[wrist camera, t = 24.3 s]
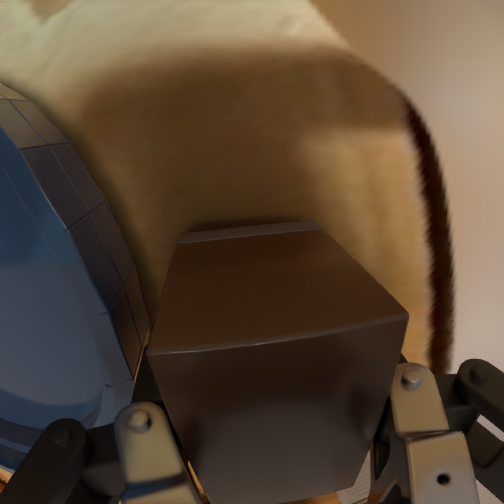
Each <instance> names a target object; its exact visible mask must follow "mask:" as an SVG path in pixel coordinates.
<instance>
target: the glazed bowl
mask: <svg viewBox="0 0 504 504" xmlns="http://www.w3.org/2000/svg"><path fill="white" fill-rule="evenodd" d="M149 337H150V336H149V319H148V316H147V312H146V308H145V304H144V300H143V296H142V292H141V288H140V284H139V280H138V276H137V271H136V267H135V265H134V262H133V259H132V257H131V255H130V253H129V251H128V248H127V246H126V244H125V242H124V239H123V237H122V235H121V232H120V230H119V228H118V225H117V223H116V220H115V218H114V216H113V213H112V211H111V208H110V206H109V203H108V201H106V198H105V196H104V195H103V193H102V192H101V190H100V189H99V187H98V186H97V184H96V182H95V181H94V179H93V178H92V176H91V175H90V173H89V171H88V170H87V168H86V167H85V165H84V163H83V162H82V160H81V158H80V157H79V155H78V153H77V152H76V150H75V148H74V147H73V145H72V144H71V142H70V141H69V140H68V139H67V138H66V136H65V135H64V134H63V133H62V132H61V131H60V130H59V129H58V128H57V127H56V126H55V125H54V124H53V123H52V122H51V121H50V120H49V119H48V118H47V117H46V115H45V114H44V113H43V112H42V111H41V110H40V109H39V108H38V107H37V106H36V105H35V104H34V103H33V102H32V101H31V100H29V99H28V98H26V97H24V96H22V95H21V94H19V93H17V92H15V91H14V90H12V89H10V88H8V87H7V86H5V85H3V84H1V83H0V468H1V469H3V470H6V471H8V472H10V473H12V474H14V472H15V471H16V469H17V468H18V466H19V465H20V464H21V462H22V461H23V459H24V458H25V456H26V455H27V453H28V452H29V451H30V449H31V448H32V446H33V445H34V443H35V442H36V441H37V439H38V438H39V436H40V435H41V434H42V432H43V431H44V430H45V428H46V427H47V426H48V425H49V424H50V423H52V422H54V421H56V420H58V419H62V418H72V419H75V420H77V421H79V422H80V423H81V424H82V425H83V426H84V428H85V429H90V428H95V427H99V426H104V425H107V424H111V423H113V422H114V419H115V417H116V415H117V414H118V412H119V411H120V410H121V409H123V408H124V407H126V406H127V405H130V403H131V399H132V395H133V390H134V386H135V382H136V378H137V374H138V370H139V366H140V362H141V361H142V360H141V358H142V354H143V350H144V347H145V346H146V345H147V344H148V341H149Z"/></svg>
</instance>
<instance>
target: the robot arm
mask: <svg viewBox="0 0 504 504" xmlns="http://www.w3.org/2000/svg"><path fill="white" fill-rule="evenodd" d="M147 345H148V344H147ZM147 345H146V346H145V347H144V350H143V354H142V358H141V360H142V361H141V362H140V366H139V370H138V374H137V378H136V382H135V386H134V390H133V395H132V399H131V403H130V405H127V406H126V407H124V408H123V409H121V410H120V411H119V412H118V414H117V415H116V417H115V419H114V422H113V423H111V424H107V425H104V426H99V427H95V428H90V429H85V428H84V426H83V425H82V424H81V423H80V422H79V421H77V420H75V419H72V418H62V419H58V420H56V421H54V422H52V423H50V424H49V425H48V426H47V427H46V428H45V430H44V431H43V432H42V434H41V435H40V436H39V438H38V439H37V441H36V442H35V443H34V445H33V446H32V448H31V449H30V451H29V452H28V453H27V455H26V456H25V458H24V459H23V461H22V462H21V464H20V465H19V466H18V468H17V469H16V471H15V472H14V474H13V475H12V477H11V478H10V480H9V481H8V483H7V484H6V486H5V487H4V489H3V490H2V492H1V493H0V504H119V501H120V500H121V504H205V503H204V500H203V498H202V496H201V494H200V491H199V489H198V487H197V485H196V482H195V480H194V477H193V475H192V473H191V470H190V468H189V466H188V458H187V456H186V453H185V451H184V449H183V447H182V445H181V442H180V440H179V438H178V436H177V433H176V431H175V429H174V426H173V424H172V422H171V419H170V417H169V414H168V412H167V409H166V407H165V404H164V402H163V399H162V396H161V394H160V391H159V389H158V386H157V383H156V380H155V378H154V375H153V372H152V369H151V366H150V363H149V361H148V358H147V355H146V349H147ZM480 414H481V415H482V416H484V417H485V418H486V419H488V420H489V421H490V422H491V423H493V424H494V425H495V426H496V427H498V428H499V429H500V430H501V431H503V432H504V373H503V372H502V371H500V370H499V369H498V368H496V367H495V366H493V365H492V364H490V363H489V362H487V361H484V360H481V359H469V360H466V361H464V362H463V363H462V364H461V365H460V367H459V370H458V372H457V374H447V375H433V374H432V372H431V371H430V370H429V369H428V368H426V367H425V366H423V365H420V364H417V363H412V362H408V361H407V360H406V359H405V357H404V356H403V355H402V353H401V354H400V358H399V362H398V366H397V369H396V373H395V376H394V380H393V383H392V387H391V390H390V393H389V396H388V399H387V402H386V405H385V408H384V411H383V414H382V417H381V420H380V423H379V426H378V428H377V431H376V434H375V436H374V439H373V442H372V444H371V447H370V477H371V484H370V492H369V495H368V500H367V504H480V501H479V495H478V490H477V485H476V480H475V478H476V479H477V480H478V481H479V482H480V483H481V484H482V485H483V486H485V487H486V488H487V489H488V490H489V491H490V492H491V493H492V494H494V495H495V496H496V497H497V498H498V499H499V500H500V501H501V502H503V503H504V442H503V441H501V440H499V439H498V438H497V437H496V436H495V435H493V434H492V433H491V432H490V431H488V430H487V429H486V428H485V427H483V426H482V425H481V424H480V423H479V422H477V419H478V417H479V416H480Z"/></svg>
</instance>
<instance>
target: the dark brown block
mask: <svg viewBox="0 0 504 504" xmlns="http://www.w3.org/2000/svg"><path fill="white" fill-rule="evenodd" d="M408 321H409V314H408V312H407V311H406V310H405V309H404V308H403V307H402V306H401V305H400V304H399V302H398V301H397V300H396V299H395V298H394V297H393V296H392V295H391V294H390V293H389V292H388V291H387V290H386V289H385V288H384V287H383V286H382V285H381V284H380V283H379V282H378V281H377V280H376V279H375V278H374V277H373V276H372V275H371V274H370V273H369V272H368V271H367V270H366V269H365V268H364V267H363V266H362V265H361V264H360V263H359V262H358V261H357V260H356V259H355V258H354V257H353V256H352V255H350V254H349V253H348V252H347V251H346V250H345V249H344V248H343V247H342V246H341V245H340V244H339V243H338V242H337V241H336V240H335V239H334V238H333V237H332V236H331V235H329V234H328V233H327V232H326V231H325V230H324V229H323V228H322V227H321V226H320V225H319V224H318V223H317V222H316V221H315V220H306V221H295V222H285V223H274V224H264V225H254V226H244V227H234V228H225V229H216V230H207V231H198V232H189V233H181V234H180V235H179V238H178V241H177V244H176V248H175V251H174V254H173V257H172V260H171V263H170V267H169V270H168V273H167V277H166V280H165V283H164V287H163V290H162V294H161V297H160V301H159V304H158V308H157V311H156V315H155V319H154V322H153V326H152V330H151V334H150V337H149V341H148V345H147V349H146V355H147V358H148V361H149V363H150V366H151V369H152V372H153V375H154V378H155V380H156V383H157V386H158V389H159V391H160V394H161V396H162V399H163V402H164V404H165V407H166V409H167V412H168V414H169V417H170V419H171V422H172V424H173V426H174V429H175V431H176V433H177V436H178V438H179V440H180V442H181V445H182V447H183V449H184V451H185V453H186V456H187V458H188V460H189V462H190V464H191V466H192V468H193V470H194V472H195V474H196V476H197V478H198V480H199V482H200V484H201V486H202V488H203V490H204V492H205V494H206V496H207V498H208V500H209V502H210V503H211V504H279V503H286V502H291V501H297V500H302V499H307V498H312V497H316V496H320V495H325V494H329V493H333V492H337V491H340V490H344V489H348V488H351V487H353V486H354V484H355V482H356V480H357V477H358V475H359V473H360V471H361V468H362V466H363V464H364V461H365V459H366V457H367V454H368V452H369V449H370V447H371V444H372V442H373V439H374V436H375V434H376V431H377V428H378V426H379V423H380V420H381V417H382V414H383V411H384V408H385V405H386V402H387V399H388V396H389V393H390V390H391V387H392V383H393V380H394V376H395V373H396V369H397V366H398V362H399V358H400V354H401V351H402V347H403V342H404V338H405V334H406V330H407V325H408Z"/></svg>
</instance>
